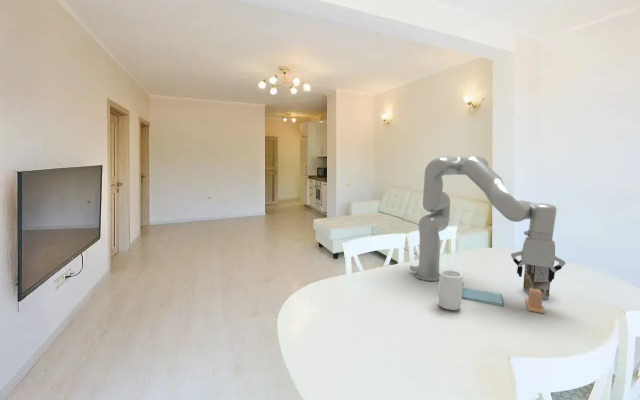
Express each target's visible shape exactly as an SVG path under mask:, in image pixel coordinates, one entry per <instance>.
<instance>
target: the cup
mask: <svg viewBox="0 0 640 400" xmlns="http://www.w3.org/2000/svg"><path fill="white" fill-rule="evenodd" d="M439 273H440V278H439V282H438V305H439V306H440V307H442V308H443V309H447V310H453V311H457V310H459V309H461V307H462V300H463V299H462V288H464V281H463V280H464V279H463V274H462V273H461V272H460V271H457V270H452V269H443V270H440V271H439Z"/></svg>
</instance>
